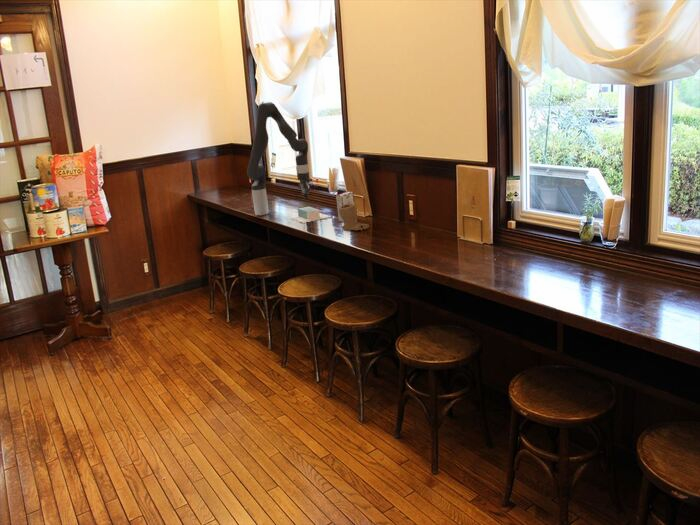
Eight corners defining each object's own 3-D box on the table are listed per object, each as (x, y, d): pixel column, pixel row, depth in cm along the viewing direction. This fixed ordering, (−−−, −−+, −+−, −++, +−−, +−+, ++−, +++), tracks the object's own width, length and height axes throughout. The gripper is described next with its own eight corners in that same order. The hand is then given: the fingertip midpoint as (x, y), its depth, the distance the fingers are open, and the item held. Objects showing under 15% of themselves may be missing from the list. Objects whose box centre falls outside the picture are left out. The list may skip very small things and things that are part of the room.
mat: (291, 219, 394) (291, 218, 394) (318, 213, 404) (318, 212, 403) (303, 223, 380) (302, 222, 380) (331, 217, 389) (331, 216, 389)
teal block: (297, 208, 396) (307, 211, 385) (308, 206, 400) (318, 209, 388) (298, 216, 398) (308, 219, 386) (309, 214, 402) (319, 217, 390)
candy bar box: (349, 217, 385) (346, 191, 380) (355, 218, 382) (353, 191, 377) (338, 221, 376) (335, 195, 372) (344, 222, 373) (342, 195, 369)
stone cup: (336, 230, 356) (333, 205, 351) (350, 226, 364) (348, 200, 359) (355, 233, 345) (353, 207, 341) (369, 228, 353) (367, 203, 349)
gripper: (292, 171, 392) (295, 198, 397) (302, 173, 381) (305, 201, 386) (303, 170, 395) (306, 196, 400) (312, 171, 384) (315, 199, 389)
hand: (305, 199), depth 393 cm, fingers closed
